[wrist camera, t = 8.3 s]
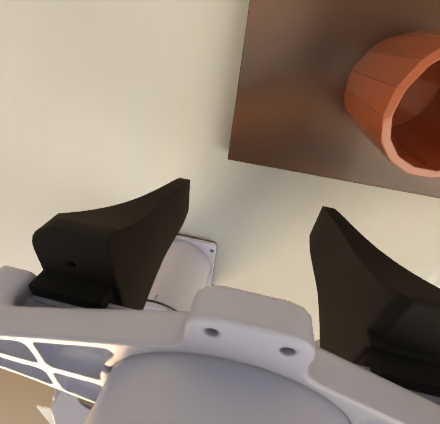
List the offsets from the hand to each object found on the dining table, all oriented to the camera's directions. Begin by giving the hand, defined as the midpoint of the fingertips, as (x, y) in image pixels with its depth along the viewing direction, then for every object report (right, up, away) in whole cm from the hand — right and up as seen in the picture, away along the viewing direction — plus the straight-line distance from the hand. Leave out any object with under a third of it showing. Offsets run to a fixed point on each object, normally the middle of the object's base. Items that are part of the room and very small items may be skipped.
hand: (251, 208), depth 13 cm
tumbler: (+10, +8, +3) cm, 13 cm away
